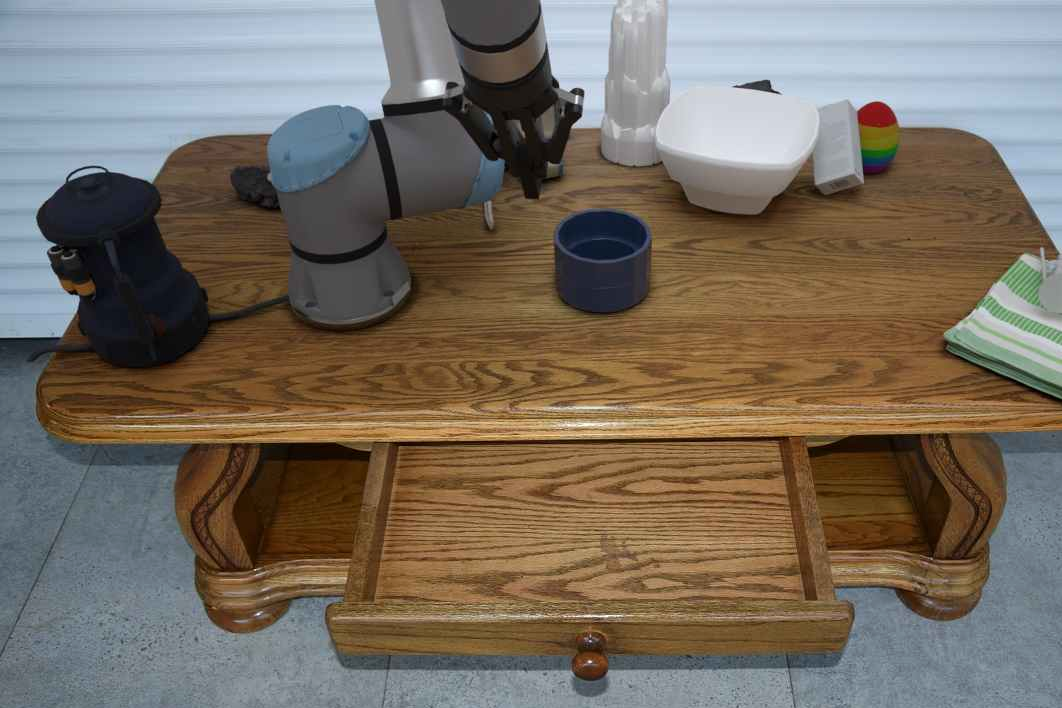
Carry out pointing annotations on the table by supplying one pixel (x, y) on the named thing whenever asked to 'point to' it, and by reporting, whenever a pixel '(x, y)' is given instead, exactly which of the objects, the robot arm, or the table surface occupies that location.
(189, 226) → the table surface
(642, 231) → the glazed bowl
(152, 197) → the dark blue bag
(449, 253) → the table surface
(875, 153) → the decorative egg
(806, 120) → the bowl
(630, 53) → the decorative vase
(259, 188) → the rock
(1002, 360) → the dish towel
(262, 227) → the table surface
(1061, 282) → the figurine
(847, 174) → the cosmetic box
